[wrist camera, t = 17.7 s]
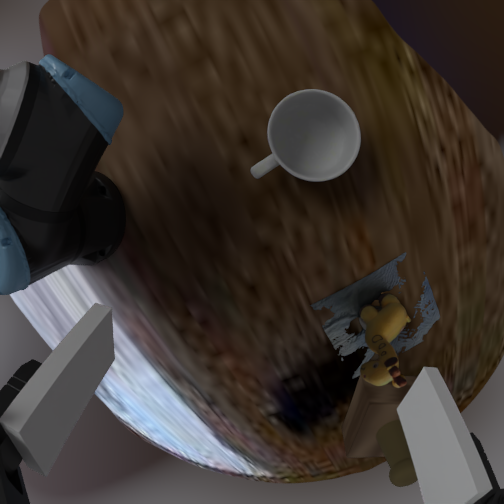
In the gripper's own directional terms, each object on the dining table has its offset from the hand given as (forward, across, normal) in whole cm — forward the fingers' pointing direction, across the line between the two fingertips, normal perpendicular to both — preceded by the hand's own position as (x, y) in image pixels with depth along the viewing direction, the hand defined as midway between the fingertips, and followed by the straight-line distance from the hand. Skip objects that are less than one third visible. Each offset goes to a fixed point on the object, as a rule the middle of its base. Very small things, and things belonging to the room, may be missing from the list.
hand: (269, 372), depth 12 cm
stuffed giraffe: (+32, +21, -14) cm, 41 cm away
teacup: (+35, +2, +7) cm, 36 cm away
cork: (+21, +27, -30) cm, 46 cm away
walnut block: (+29, +28, -31) cm, 51 cm away
